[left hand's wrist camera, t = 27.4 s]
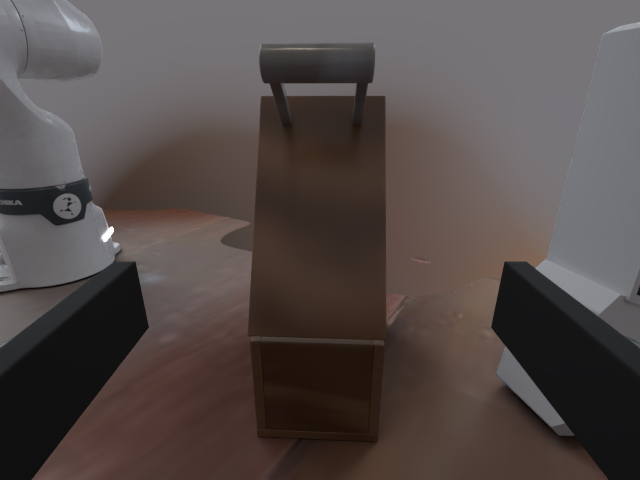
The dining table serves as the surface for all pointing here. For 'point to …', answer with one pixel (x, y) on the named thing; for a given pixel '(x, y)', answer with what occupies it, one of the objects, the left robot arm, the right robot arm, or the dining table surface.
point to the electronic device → (598, 210)
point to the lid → (319, 198)
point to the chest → (317, 387)
